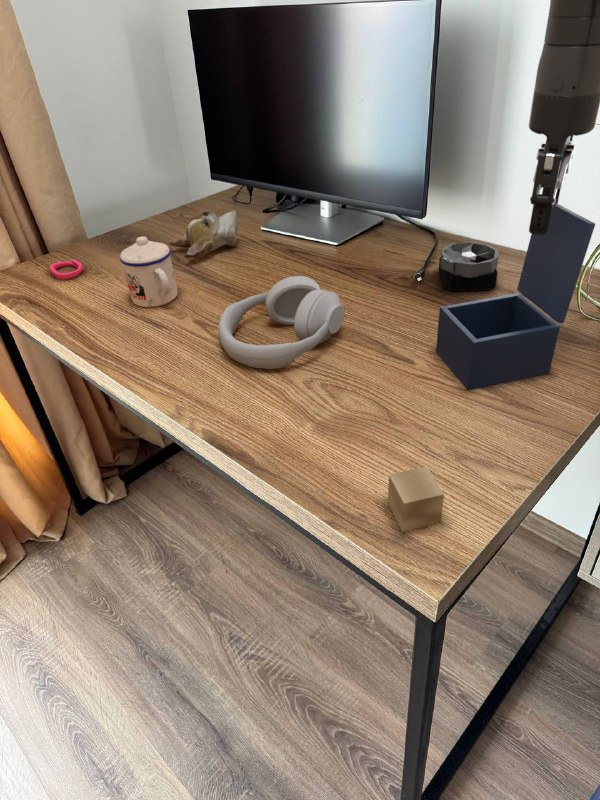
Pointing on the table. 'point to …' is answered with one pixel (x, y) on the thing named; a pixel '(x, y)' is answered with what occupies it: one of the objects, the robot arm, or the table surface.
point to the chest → (496, 340)
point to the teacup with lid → (149, 273)
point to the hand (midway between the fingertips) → (542, 222)
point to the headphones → (284, 322)
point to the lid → (556, 262)
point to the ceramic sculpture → (208, 234)
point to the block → (415, 498)
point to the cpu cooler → (468, 266)
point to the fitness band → (66, 275)
